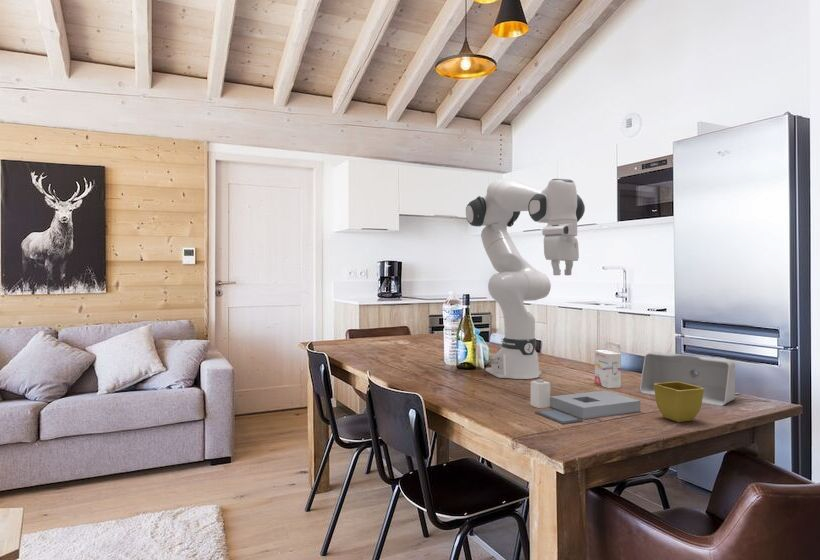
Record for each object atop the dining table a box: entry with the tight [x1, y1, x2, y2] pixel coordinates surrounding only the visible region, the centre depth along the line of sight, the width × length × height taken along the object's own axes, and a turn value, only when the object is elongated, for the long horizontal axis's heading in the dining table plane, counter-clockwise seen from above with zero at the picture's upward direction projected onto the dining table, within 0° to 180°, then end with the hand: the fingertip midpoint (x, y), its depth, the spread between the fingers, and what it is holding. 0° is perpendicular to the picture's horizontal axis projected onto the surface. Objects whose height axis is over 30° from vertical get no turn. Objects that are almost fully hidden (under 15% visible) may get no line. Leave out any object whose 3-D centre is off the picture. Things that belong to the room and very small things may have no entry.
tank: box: [639, 351, 736, 407], centre depth 171 cm, size 25×16×12 cm, turn 44°
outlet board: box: [549, 390, 641, 420], centre depth 154 cm, size 14×20×3 cm
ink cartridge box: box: [594, 341, 622, 389], centre depth 185 cm, size 9×5×15 cm, turn 14°
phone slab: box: [534, 408, 584, 425], centre depth 145 cm, size 12×6×1 cm, turn 22°
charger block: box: [530, 379, 551, 409], centre depth 157 cm, size 4×4×8 cm
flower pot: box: [654, 382, 704, 423], centre depth 143 cm, size 9×9×9 cm
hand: (562, 275), depth 167 cm, fingers open, 8 cm apart
